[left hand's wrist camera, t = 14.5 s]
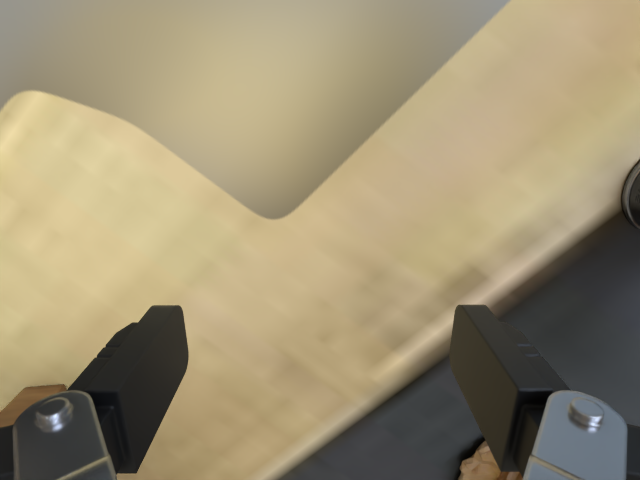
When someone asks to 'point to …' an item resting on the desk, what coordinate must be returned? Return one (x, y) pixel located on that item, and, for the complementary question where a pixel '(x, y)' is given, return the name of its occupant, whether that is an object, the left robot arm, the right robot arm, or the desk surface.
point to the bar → (26, 402)
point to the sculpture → (484, 467)
